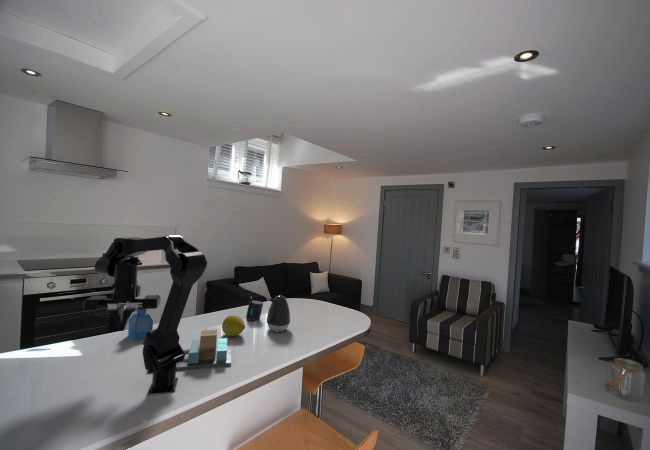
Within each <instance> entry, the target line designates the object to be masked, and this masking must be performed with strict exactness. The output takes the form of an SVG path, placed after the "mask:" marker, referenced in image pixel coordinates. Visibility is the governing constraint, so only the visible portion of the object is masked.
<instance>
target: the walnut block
mask: <svg viewBox="0 0 650 450" xmlns="http://www.w3.org/2000/svg"><path fill="white" fill-rule="evenodd" d="M200 332H201V333H200V337H199V340H200V351H199V360H208V359H215V355H216V348H217V342H218V329H202V330H201V331H200Z"/></svg>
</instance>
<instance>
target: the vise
mask: <svg viewBox="0 0 650 450" xmlns="http://www.w3.org/2000/svg"><path fill="white" fill-rule="evenodd" d="M231 347H232V346H228V338H227V337H225V338H217V347H216V355H215V359H208V360H199V362H198V363H194V364H188V356H189V354H185V357H184V360H183V361H181V362H179V363H177V364H176V371H180V370H181V371H183V370H184V371H185V370H194V369H206V368H209V369H210V368H217V367H219V368H221V366H222V367H231V366H232V351H231V350H232V349H231ZM160 360H161V359H160ZM160 360H158V361H160ZM147 373H148V370H147ZM148 374H149V373H148Z"/></svg>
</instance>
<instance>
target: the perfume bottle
mask: <svg viewBox="0 0 650 450" xmlns="http://www.w3.org/2000/svg"><path fill="white" fill-rule="evenodd" d="M147 311H148V309H144V308H143V307H142V305H140V306H139V308H138V309H137V310H136V311H135V312H136V313H135V312H134V313H132V314H131V316H130V318H129V320H128V329H127V330H128V331H127V337H129V338H130V339H131V340H132V341H133V342H135V341H140V340H145V338H146V334H147V332H148V331H151V330H154V327H153V326H154V320H153V318H152V317H151V315H150V314H149V313H148V312H147Z"/></svg>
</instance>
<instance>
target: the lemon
mask: <svg viewBox="0 0 650 450" xmlns="http://www.w3.org/2000/svg"><path fill="white" fill-rule="evenodd" d="M221 328H222V329H221V330H222V331H223V333H224V334H225V335H226V336H229V337H237V336H239V335H240V334H241V333H243V331H244V330H245V329H246V324H245V322H244V320H243V319H242V318H241V317H240V316H237V315H232V314H231V315H228V316H226V317H225V318H224V319H223V322H222V324H221Z"/></svg>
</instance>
